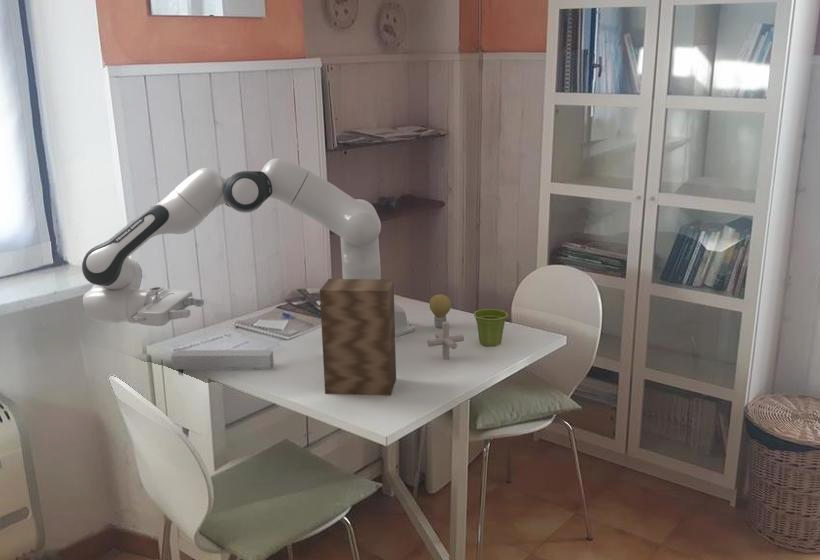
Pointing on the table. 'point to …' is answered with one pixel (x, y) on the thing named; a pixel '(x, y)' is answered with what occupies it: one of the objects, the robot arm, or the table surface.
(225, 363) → the aluminium bar
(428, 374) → the table surface
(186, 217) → the robot arm
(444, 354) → the pipe connector
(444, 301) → the light bulb
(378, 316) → the walnut stand
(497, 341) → the plant pot
